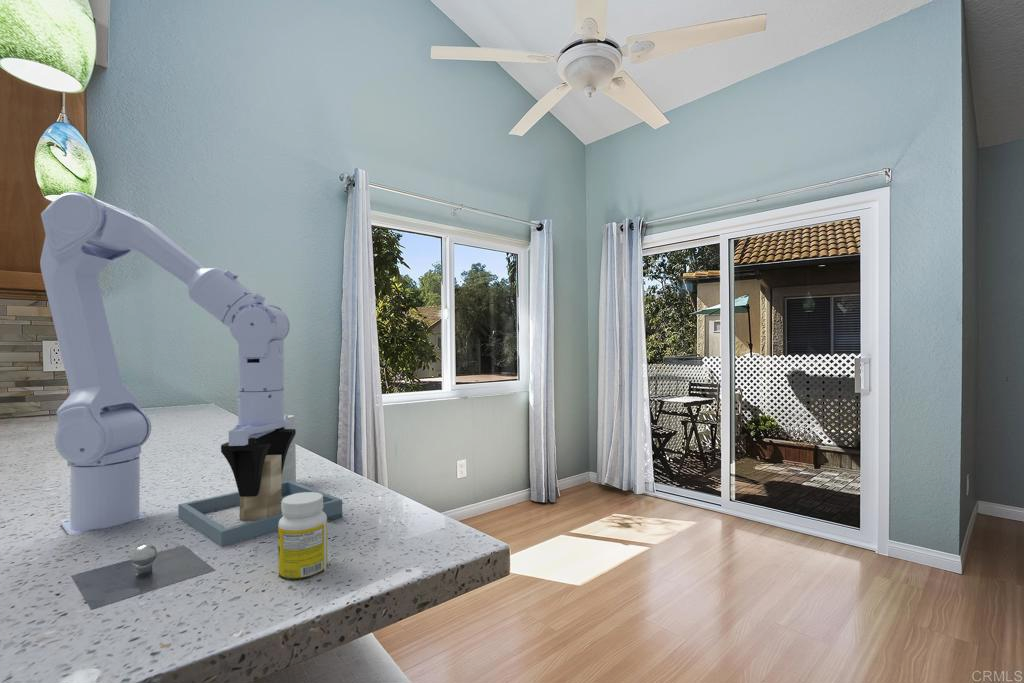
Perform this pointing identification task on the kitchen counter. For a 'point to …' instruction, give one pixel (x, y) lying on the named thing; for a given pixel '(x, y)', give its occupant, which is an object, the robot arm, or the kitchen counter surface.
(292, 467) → the skincare box
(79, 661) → the kitchen counter surface
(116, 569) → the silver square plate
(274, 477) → the strut
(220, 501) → the bin
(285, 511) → the supplement bottle
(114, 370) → the robot arm
